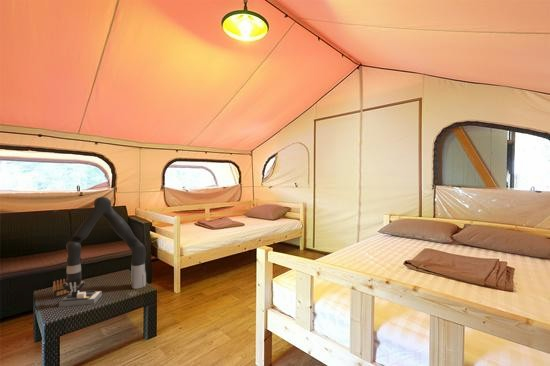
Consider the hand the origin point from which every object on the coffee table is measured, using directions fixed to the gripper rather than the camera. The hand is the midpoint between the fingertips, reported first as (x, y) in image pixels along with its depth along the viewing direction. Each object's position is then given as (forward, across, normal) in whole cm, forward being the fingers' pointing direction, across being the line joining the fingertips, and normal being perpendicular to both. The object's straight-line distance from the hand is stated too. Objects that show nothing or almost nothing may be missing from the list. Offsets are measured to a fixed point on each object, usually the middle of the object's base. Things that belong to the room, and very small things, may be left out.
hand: (74, 296), depth 170 cm
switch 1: (+1, +2, -6) cm, 6 cm away
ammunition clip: (+5, +14, -14) cm, 20 cm away
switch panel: (+4, -2, -3) cm, 6 cm away
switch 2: (+1, -4, 0) cm, 4 cm away
